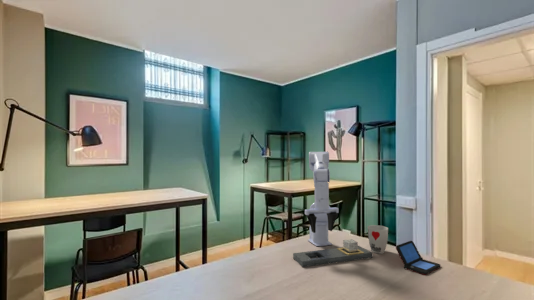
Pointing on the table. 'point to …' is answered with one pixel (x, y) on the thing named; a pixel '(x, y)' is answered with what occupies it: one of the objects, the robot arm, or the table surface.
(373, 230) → the cup
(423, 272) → the handheld game console
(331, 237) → the table surface
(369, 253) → the grey slotted board
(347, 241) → the steel block
